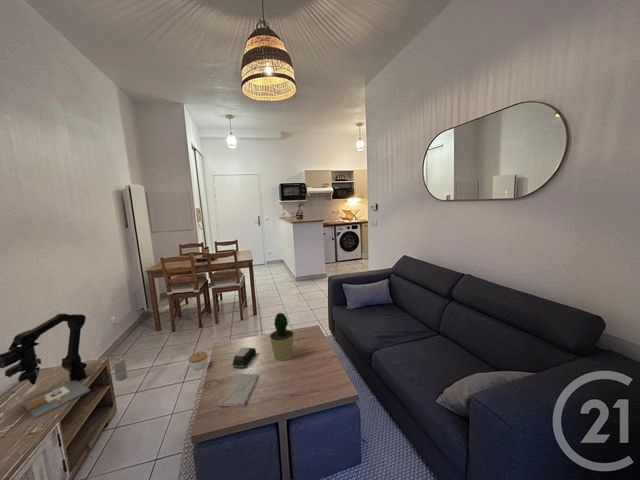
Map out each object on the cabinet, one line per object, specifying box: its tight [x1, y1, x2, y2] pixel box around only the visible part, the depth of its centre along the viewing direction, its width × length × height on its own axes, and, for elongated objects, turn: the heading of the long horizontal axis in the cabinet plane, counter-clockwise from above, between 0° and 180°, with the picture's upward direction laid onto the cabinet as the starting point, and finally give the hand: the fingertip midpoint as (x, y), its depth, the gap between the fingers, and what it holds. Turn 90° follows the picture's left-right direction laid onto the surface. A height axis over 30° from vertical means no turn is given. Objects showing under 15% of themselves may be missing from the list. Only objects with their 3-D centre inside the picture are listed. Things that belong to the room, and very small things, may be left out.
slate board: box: [20, 380, 91, 420], centre depth 147 cm, size 22×22×4 cm
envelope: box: [217, 373, 259, 405], centre depth 145 cm, size 24×2×14 cm
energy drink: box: [113, 357, 128, 382], centre depth 161 cm, size 5×5×12 cm
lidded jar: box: [187, 351, 208, 371], centre depth 168 cm, size 11×11×9 cm
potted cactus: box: [269, 312, 294, 361], centre depth 175 cm, size 15×15×30 cm
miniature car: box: [231, 347, 257, 368], centre depth 173 cm, size 9×18×8 cm, turn 169°
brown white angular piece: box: [26, 387, 70, 410], centre depth 144 cm, size 16×9×4 cm, turn 150°
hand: (33, 384), depth 143 cm, fingers closed
